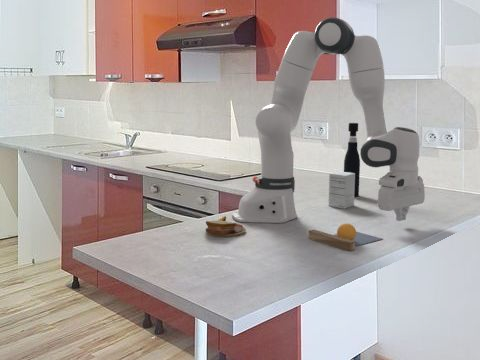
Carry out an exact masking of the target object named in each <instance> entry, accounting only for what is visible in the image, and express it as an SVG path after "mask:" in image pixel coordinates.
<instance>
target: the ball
mask: <svg viewBox="0 0 480 360" xmlns="http://www.w3.org/2000/svg"><path fill="white" fill-rule="evenodd" d="M356 232H357V229H356V228H355V227H354V225H352V224H351V223H348V222H346V223H342V224H340V225H339V226H338V227H337V231H336V234H337V236H338V237H342V238H345V239H349V240H353V239H354V238H355V236H356Z"/></svg>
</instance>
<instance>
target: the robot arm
mask: <svg viewBox="0 0 480 360" xmlns="http://www.w3.org/2000/svg"><path fill="white" fill-rule="evenodd" d="M322 55H341V56H343V57H344V58H345V62H346V66H347V73H348V74H347V75H348V78H349V80H348V81H349V84H350V88H351V90H352V94H353V96H354V97H355V98H356V100H357V101H358V102H359V104H360V106H361V107H362V110H363V115H364V122H365V128H366V139H365V142H364V143H363V144H362V146H361V147H360V151H359V152H360V154H359V156H360V158H361V160H362V162H363V163H364V165H366V166H368V167H370V168H381V167H388V166H389V172H387V173H385V174H384V175H383V176H381V177H380V178H379V179H378V184H379V186H380V187H379V188H378V196H377V197H378V198H377V205H378V206H377V207H378V209H379V210H381V211H394V213H395V214H394V215H396V216H395V220H396V221H397V222H401V221H405V220H406V219H407V216H408V213H409V211H410V207H413V206H417V205H421V204H423V203H424V202H425V198H426V197H425V195H426V193H425V192H426V191H425V185H424V184H425V183H424V180H423V178H422V176H420V175H419V166H418V165H419V164H418V161H419V157H420V136H419V133H417V131H415V130H414V129H412V128H408V127H401V126H396V127H394V128H393V129H391V130H389V131H388V132H387V127H386V121H385V115H384V114H385V113H384V107H383V106H384V95H385V94H384V93H385V82H386V80H385V68H384V62H383V57H382V53H381V49H380V46H379V43H378V40H377V39H376V38H375V37H374V36H372V35H364V34H363V35H355V32H354V30H353V27H352V26H350V24H349V23H348V22H347V21H345V20H343V19H342V18H339V17H334V16H332V17H331V16H330V17H327V18H325V19H323V20H321V21H320V22H319V24H318V25H317V26H316V28H315V32H311V31H309V30H308V31H307V30H300V31H297V32H295V33H294V34H293V36H292V37H291V39H290V41H289V43H288V45H287V47H286V49H285V51H284V54H283V56H282V59H281V60H280V61H281V62H280V65H279V67H278V71H277V72H276V76H275V79H274V82H273V91H272V96H271V100H270V104H269V105H266V106H264V107H263V108H261V109H260V110H259V111H258V114H257V116H256V118H255V126H256V129H257V134H258V141H259V146H260V147H259V148H260V156H261V157H260V160H261V161H260V164H261V165H260V167H261V168H260V176H257V175H254V176H253V177H252V181H253V183H255V184H254V186H255V187H253V188H252V189H251V190H250V191H249V192H247V193H246V194H245V195H243V196H242V197H241V199H240V200H239V204H238V209H237V210H234V211H232V213H231V214H232V216H231V217H232V218H233V219H234V220H235V221H237V222H240V223H271V224H272V223H273V224H274V223H276V224H278V223H280V224H283V223H286V222H288V221H291V220H295V219H296V218H298V215H297V211H296V206H295V205H296V204H295V199H294V198H295V197H294V192H295V187H296V185H295V183H296V182H295V177H294V158H295V157H294V151H293V146H292V145H293V144H292V137H291V136H292V135H291V133H292V132H293V131H294V130H295V129H296V127H297V125H298V123H299V119H300V116H301V112H302V109H303V108H302V107H303V104H304V100H305V95H306V94H307V93H306V92H307V89H308V87H309V84H310V82H311V78H312V76H313V74H314V71H315V68H316V65H317V63H318V61H319V58H320V57H322Z"/></svg>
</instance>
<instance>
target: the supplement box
mask: <svg viewBox="0 0 480 360" xmlns="http://www.w3.org/2000/svg"><path fill="white" fill-rule="evenodd" d="M354 191H355V173H350V172H344V171H341V170H339V171H335V172H331V173H329V179H328V206H329V207H332V208H338V209H347V208H351V207H353V206H355V197H354Z"/></svg>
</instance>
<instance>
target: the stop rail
mask: <svg viewBox="0 0 480 360" xmlns="http://www.w3.org/2000/svg"><path fill="white" fill-rule="evenodd" d="M308 239H309V240H312V241H316V242H318V243H322V244H324V245H328V246H331V247H334V248H338V249H341V250H345V251H347V252H353V251H355V247H356V246H355V241H352V240H349V239H345V238H342V237H338V236H335V235H334V234H330V233H328V232H324V231H320V230H317V229H310V230H308Z"/></svg>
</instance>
